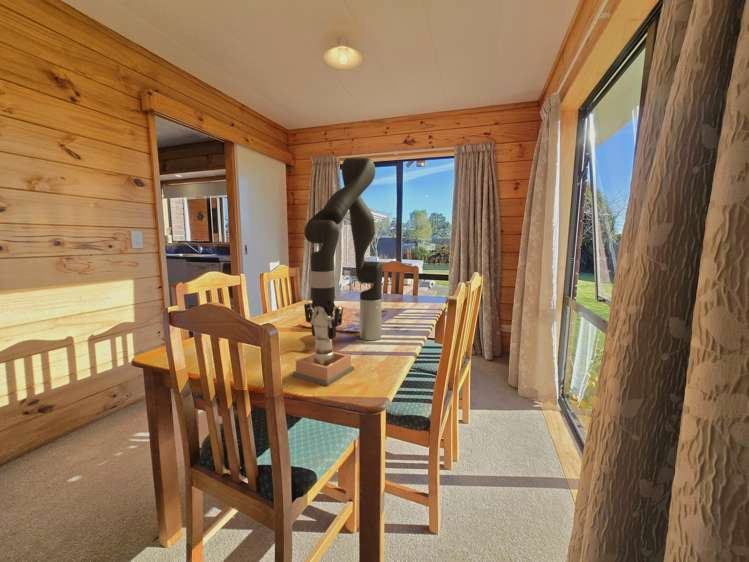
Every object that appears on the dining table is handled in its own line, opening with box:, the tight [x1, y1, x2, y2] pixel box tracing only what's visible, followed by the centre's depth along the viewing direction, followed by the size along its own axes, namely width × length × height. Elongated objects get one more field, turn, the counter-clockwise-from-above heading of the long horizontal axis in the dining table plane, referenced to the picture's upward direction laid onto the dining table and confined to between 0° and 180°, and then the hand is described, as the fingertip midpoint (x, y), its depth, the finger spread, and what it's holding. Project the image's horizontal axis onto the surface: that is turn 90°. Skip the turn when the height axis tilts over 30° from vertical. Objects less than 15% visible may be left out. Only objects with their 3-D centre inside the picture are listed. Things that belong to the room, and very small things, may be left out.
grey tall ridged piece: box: [313, 305, 334, 366], centre depth 105 cm, size 6×7×20 cm
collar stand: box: [292, 351, 355, 387], centre depth 107 cm, size 14×14×5 cm
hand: (323, 336), depth 105 cm, fingers closed on grey tall ridged piece, 6 cm apart
